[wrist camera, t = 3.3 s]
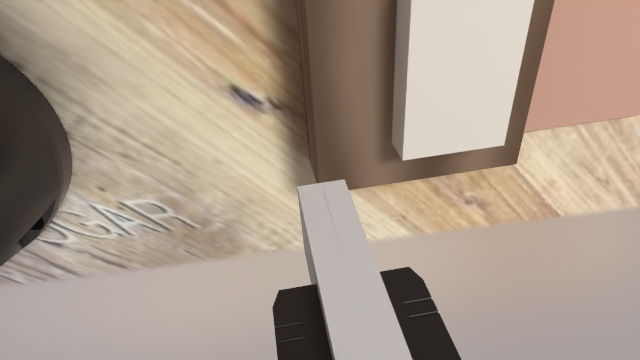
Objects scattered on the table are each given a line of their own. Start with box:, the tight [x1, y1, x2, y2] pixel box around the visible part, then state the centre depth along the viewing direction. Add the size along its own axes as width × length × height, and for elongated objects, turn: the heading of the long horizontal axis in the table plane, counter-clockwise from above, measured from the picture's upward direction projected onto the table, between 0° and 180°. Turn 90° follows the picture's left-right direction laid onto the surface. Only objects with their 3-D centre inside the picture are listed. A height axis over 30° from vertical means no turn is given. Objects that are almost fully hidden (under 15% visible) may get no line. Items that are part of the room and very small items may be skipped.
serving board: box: [296, 0, 555, 190], centre depth 26 cm, size 13×15×4 cm
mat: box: [524, 0, 640, 132], centre depth 28 cm, size 12×15×1 cm
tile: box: [392, 0, 534, 160], centre depth 23 cm, size 6×9×2 cm, turn 3°
